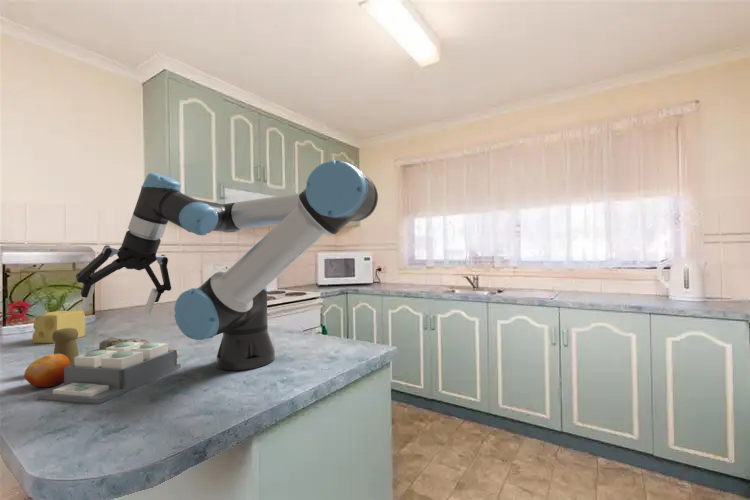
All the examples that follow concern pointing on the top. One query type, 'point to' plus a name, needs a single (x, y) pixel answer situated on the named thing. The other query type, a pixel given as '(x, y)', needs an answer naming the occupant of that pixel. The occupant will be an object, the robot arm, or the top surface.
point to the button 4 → (151, 349)
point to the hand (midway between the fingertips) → (117, 310)
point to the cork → (66, 343)
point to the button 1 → (92, 358)
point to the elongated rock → (114, 341)
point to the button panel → (109, 380)
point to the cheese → (58, 324)
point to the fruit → (47, 370)
